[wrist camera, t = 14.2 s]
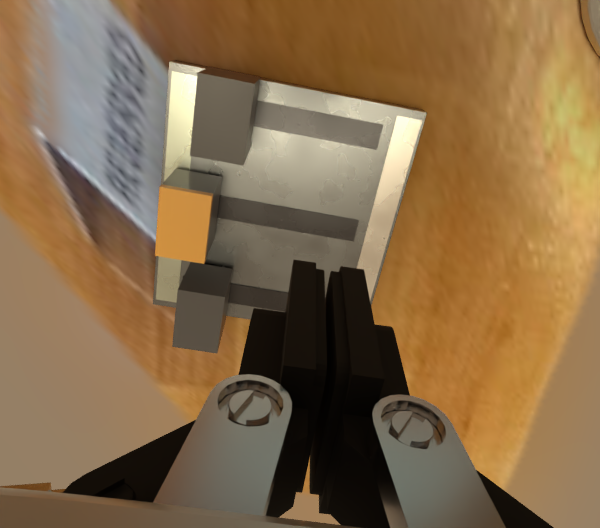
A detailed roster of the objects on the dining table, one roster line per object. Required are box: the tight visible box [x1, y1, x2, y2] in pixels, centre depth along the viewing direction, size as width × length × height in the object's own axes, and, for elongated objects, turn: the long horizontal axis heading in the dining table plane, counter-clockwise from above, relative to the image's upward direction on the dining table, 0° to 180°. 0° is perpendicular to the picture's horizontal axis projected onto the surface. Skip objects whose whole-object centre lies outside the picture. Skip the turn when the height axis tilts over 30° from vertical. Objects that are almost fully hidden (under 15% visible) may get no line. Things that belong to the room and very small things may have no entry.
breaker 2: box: [172, 262, 233, 353], centre depth 34 cm, size 3×4×4 cm
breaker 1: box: [190, 67, 260, 166], centre depth 28 cm, size 3×4×4 cm
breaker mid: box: [155, 169, 222, 264], centre depth 31 cm, size 3×4×4 cm
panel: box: [153, 60, 427, 319], centre depth 34 cm, size 16×17×2 cm
